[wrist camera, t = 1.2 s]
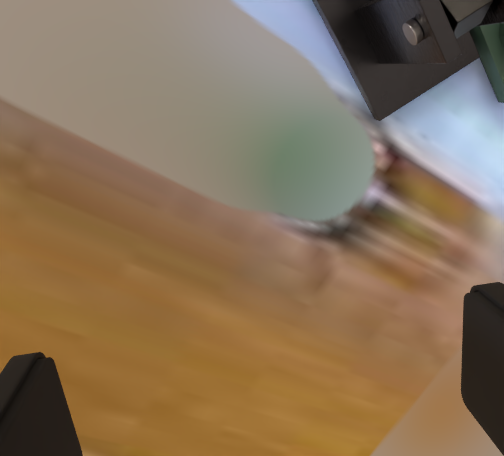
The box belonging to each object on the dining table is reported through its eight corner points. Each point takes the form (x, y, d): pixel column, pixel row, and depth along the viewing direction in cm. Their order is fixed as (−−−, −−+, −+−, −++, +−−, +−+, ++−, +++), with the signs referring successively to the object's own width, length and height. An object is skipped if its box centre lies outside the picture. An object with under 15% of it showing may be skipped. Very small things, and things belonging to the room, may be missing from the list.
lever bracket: (301, -20, 35) (346, -60, 23) (408, -94, 34) (507, -172, 23) (374, 119, 38) (443, 141, 27) (472, 57, 38) (583, 53, 26)
